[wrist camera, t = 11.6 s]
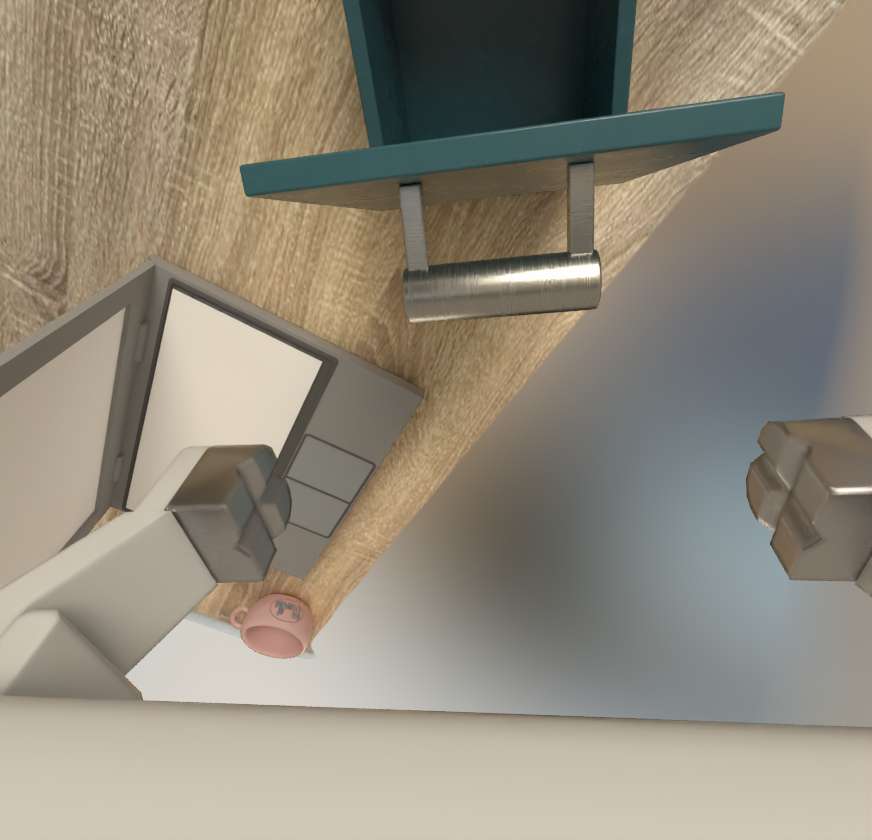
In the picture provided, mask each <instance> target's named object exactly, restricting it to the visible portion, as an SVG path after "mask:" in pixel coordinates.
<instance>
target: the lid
mask: <svg viewBox="0 0 872 840" xmlns="http://www.w3.org/2000/svg"><path fill="white" fill-rule="evenodd" d="M784 98H785V93H783V92H776V93H769V94H761V95H754V96H747V97H739V98H732V99H725V100H717V101H710V102H702V103H695V104H688V105H680V106H673V107H666V108H658V109H651V110H644V111H636V112H629V113H621V114H614V115H607V116H599V117H592V118H585V119H577V120H570V121H562V122H555V123H548V124H540V125H533V126H526V127H518V128H511V129H503V130H496V131H489V132H481V133H474V134H467V135H459V136H452V137H445V138H437V139H430V140H422V141H415V142H408V143H400V144H393V145H386V146H378V147H371V148H363V149H356V150H349V151H341V152H334V153H327V154H319V155H312V156H304V157H297V158H290V159H282V160H275V161H268V162H260V163H253V164H246V165H241V166H240V172H241V177H242V181H243V186H244V191H245V194H246V196H248V197H254V198H263V199H272V200H282V201H291V202H301V203H310V204H319V205H329V206H338V207H347V208H357V209H366V210H375V211H385V210H394V209H401V217H402V226H403V234H404V243H405V252H406V260H407V268H405V269H404V272H403V277H402V293H403V302H404V308H405V313H406V316H407V319H408V321H409V322H410V323H411V324H417V323H430V322H442V321H454V320H467V319H479V318H492V317H504V316H517V315H529V314H542V313H554V312H567V311H579V310H591V309H596V308H597V307H598V305H599V302H600V297H601V283H602V277H601V263H600V257H599V254H598V252H597V250H594V186H601V185H610V184H618V183H624V182H627V181H630V180H633V179H636V178H639V177H642V176H645V175H648V174H651V173H654V172H657V171H660V170H663V169H666V168H668V167H671V166H674V165H677V164H680V163H683V162H686V161H689V160H692V159H695V158H698V157H701V156H704V155H707V154H710V153H713V152H716V151H719V150H722V149H725V148H728V147H731V146H734V145H736V144H739V143H742V142H745V141H748V140H751V139H754V138H757V137H760V136H763V135H766V134H769V133H772V132H775V131H777V130H779V129H780V127H781V122H782V114H783V106H784ZM566 189H567V252H562V253H551V254H541V255H531V256H521V257H510V258H500V259H490V260H480V261H469V262H459V263H449V264H439V265H431V256H430V246H429V236H428V226H427V216H426V206H428V205H437V204H445V203H454V202H463V201H471V200H480V199H489V198H497V197H506V196H514V195H523V194H532V193H540V192H549V191H558V190H566Z"/></svg>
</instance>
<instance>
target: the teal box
mask: <svg viewBox="0 0 872 840" xmlns="http://www.w3.org/2000/svg"><path fill="white" fill-rule="evenodd" d="M636 2H637V0H343V5H344V11H345V16H346V21H347V27H348V32H349V38H350V43H351V48H352V54H353V59H354V65H355V70H356V75H357V81H358V86H359V92H360V97H361V102H362V108H363V113H364V119H365V124H366V129H367V135H368V140H369V146H370V148H371V147H378V146H386V145H393V144H400V143H408V142H415V141H422V140H430V139H437V138H445V137H452V136H459V135H467V134H474V133H481V132H489V131H496V130H503V129H511V128H518V127H526V126H533V125H540V124H548V123H555V122H562V121H570V120H577V119H585V118H592V117H599V116H607V115H614V114H621V113H627V110H628V98H629V86H630V74H631V62H632V50H633V38H634V26H635V14H636Z"/></svg>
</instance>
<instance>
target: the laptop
mask: <svg viewBox="0 0 872 840" xmlns="http://www.w3.org/2000/svg"><path fill="white" fill-rule="evenodd" d="M424 392H425V391H424V390H423V389H422V388H420V387H418V386H416V385H414V384H412V383H410V382H408V381H406V380H404V379H402V378H400V377H398V376H396V375H394V374H392V373H390V372H388V371H386V370H384V369H382V368H380V367H378V366H376V365H374V364H372V363H370V362H368V361H366V360H364V359H362V358H360V357H358V356H356V355H354V354H352V353H350V352H348V351H346V350H344V349H342V348H340V347H338V346H336V345H334V344H332V343H330V342H328V341H326V340H324V339H322V338H320V337H318V336H316V335H314V334H312V333H310V332H308V331H306V330H304V329H302V328H300V327H298V326H296V325H294V324H292V323H290V322H288V321H286V320H284V319H282V318H280V317H278V316H276V315H274V314H272V313H270V312H268V311H266V310H264V309H262V308H260V307H258V306H256V305H254V304H252V303H250V302H248V301H246V300H244V299H242V298H240V297H239V296H237V295H235V294H233V293H231V292H229V291H227V290H225V289H223V288H221V287H219V286H217V285H215V284H213V283H211V282H209V281H207V280H205V279H203V278H201V277H199V276H197V275H195V274H193V273H191V272H189V271H187V270H185V269H183V268H181V267H179V266H177V265H175V264H173V263H171V262H169V261H167V260H165V259H163V258H161V257H159V256H157V255H154V254H151V255H149V259H148V261H147V262H145V263H143V264H142V265H140V266H139V267H137V268H135V269H134V270H132V271H131V272H129V273H128V274H126V275H124V276H123V277H121V278H120V279H118V280H116V281H115V282H113V283H112V284H110V285H109V286H107V287H105V288H104V289H102V290H101V291H99V292H97V293H96V294H94V295H93V296H91V297H90V298H88V299H86V300H85V301H83V302H82V303H80V304H78V305H77V306H75V307H74V308H72V309H71V310H69V311H67V312H66V313H64V314H63V315H61V316H59V317H58V318H56V319H55V320H53V321H52V322H50V323H48V324H47V325H45V326H44V327H42V328H40V329H39V330H37V331H36V332H34V333H33V334H31V335H29V336H28V337H26V338H25V339H23V340H21V341H20V342H18V343H17V344H15V345H14V346H12V347H10V348H9V349H7V350H6V351H4V352H2V353H1V354H0V588H2V587H3V586H5V585H6V584H8V583H10V582H11V581H13V580H15V579H16V578H18V577H20V576H21V575H23V574H24V573H26V572H28V571H29V570H31V569H33V568H34V567H36V566H38V565H39V564H41V563H42V562H44V561H46V560H47V559H49V558H51V557H52V556H54V555H55V554H57V553H59V552H60V551H62V550H64V549H65V548H67V547H69V546H70V545H72V544H73V543H75V542H77V541H78V540H80V539H82V538H83V537H85V536H87V534H88V533H89V532H90V531H91V530H92V528H93V527H94V526H95V525H96V523H97V522H98V521H99V520H100V519H101V517H102V516H103V515H104V514H105V513H106V511H107V510H108V509H109V508H110V506H111V507H114V508H116V509H119V510H122V511H124V512H133V511H134V510H135V509H136V507H137V506H138V505H139V503H140V502H141V501H142V500H143V498H144V497H145V496H146V494H147V493H148V492H149V491H150V489H151V488H152V487H153V485H154V484H155V483H156V482H157V480H158V479H159V478H160V476H161V475H162V474H163V473H164V471H165V470H166V469H167V467H168V466H169V465H170V463H171V462H172V461H173V460H174V458H175V457H176V456H177V454H178V453H179V452H180V451H181V450H182V449H185V448H187V447H189V446H214V445H253V444H265V445H267V446H270V447H272V449H273V451H274V453H275V455H276V457H277V459H278V464H277V466H276V468H275V470H274V471H275V472H277V473H278V474H279V475H281V476H282V477H283V478H285V479H286V480H287V483H288V485H289V488H290V492H291V498H292V507H291V517H290V519H289V522H288V525H287V527H286V530H285V531H283V532H282V533H281V534H280V535H279V536H277V537H276V538H275V539H274V540H273V541H274V544H275V546H276V549H277V551H276V553H275V556H274V558H273V560H272V562H271V565H270V567H271V568H274V569H276V570H279V571H281V572H284V573H287V574H289V575H292V576H295V577H297V578H300V579H302V580H304V579H305V577H306V576H307V574H308V573H309V571H310V570H311V568H312V566H313V565H314V563H315V562H316V560H317V559H318V557H319V556H320V554H321V553H322V551H323V550H324V548H325V547H326V545H327V544H328V542H329V541H330V539H331V538H332V536H333V535H334V533H335V532H336V530H337V529H338V527H339V525H340V524H341V522H342V521H343V519H344V518H345V516H346V515H347V513H348V512H349V510H350V509H351V507H352V506H353V504H354V503H355V501H356V500H357V498H358V497H359V495H360V494H361V492H362V491H363V489H364V487H365V486H366V484H367V483H368V481H369V480H370V478H371V477H372V475H373V474H374V472H375V471H376V469H377V468H378V466H379V465H380V463H381V462H382V460H383V459H384V457H385V456H386V454H387V453H388V451H389V450H390V448H391V446H392V445H393V443H394V442H395V440H396V439H397V437H398V436H399V434H400V433H401V431H402V430H403V428H404V427H405V425H406V424H407V422H408V421H409V419H410V418H411V416H412V415H413V413H414V412H415V410H416V408H417V407H418V405H419V404H420V402H421V401H422V399H423V398H424Z"/></svg>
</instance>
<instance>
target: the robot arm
mask: <svg viewBox="0 0 872 840" xmlns="http://www.w3.org/2000/svg"><path fill="white" fill-rule="evenodd" d="M758 444H759V445H760V447H761V448H762V450H763V451H764V453H763V454H762V455H760V456H759V457H758V458H757V459H755V460H754V461H753V462H752V463H751V464H750V467H749V470H748V474H747V478H746V487H747V488H746V489H747V498H748V501H749V504H750V508H751V510H752V512H753V513H754V515H755V517H756V519H757V521H758V522H760V523H761V524H763V525H764V526H766V527H767V528H769V529H771V530H772V531H774V535H773V537H772V540H771V542H770V545H771V546H772V548H773V550H774V552H775V554H776V555H777V557H778V559H779V561H780V562H781V564H782V566H783V568H784V570H785V571H786V573H787V575H788V576H789V578H790V580H814V581H816V580H817V581H856V583H855V585H856V586H858V587H859V588H860V589H862V590H863V591H864V592H866V593H867V594H868V595H870V596H871V597H872V415H857V416H844V417H841V418H823V419H804V420H784V421H768V422H767V423H766V425H765V426H764V427H763V428H762V430H761V433H760V436H759V439H758ZM277 464H278V459H277V457H276V455H275V453H274V451H273V449H272V447H270V446H267V445H265V444H253V445H214V446H189V447H187V448H185V449H182V450H181V451H180V452H179V453H178V454H177V456H176V457H175V458H174V460H173V461H172V462H171V463H170V465H169V466H168V467H167V469H166V470H165V471H164V473H163V474H162V475H161V476H160V478H159V479H158V480H157V482H156V483H155V484H154V485H153V487H152V488H151V489H150V491H149V492H148V493H147V494H146V496H145V497H144V498H143V500H142V501H141V502H140V503H139V505H138V506H137V507H136V509H135V510H134V511H133V512H124V513H122V514H121V515H119V516H118V517H116V518H114V519H113V520H111V521H109V522H108V523H106V524H104V525H103V526H101V527H100V528H98V529H96V530H95V531H93V532H91V533H90V534H88V535H87V536H85V537H83V538H82V539H80V540H78V541H77V542H75V543H73V544H72V545H70V546H69V547H67V548H65V549H64V550H62V551H60V552H59V553H57V554H55V555H54V556H52V557H51V558H49V559H47V560H46V561H44V562H42V563H41V564H39V565H38V566H36V567H34V568H33V569H31V570H29V571H28V572H26V573H24V574H23V575H21V576H20V577H18V578H16V579H15V580H13V581H11V582H10V583H8V584H6V585H5V586H3V587H2V588H0V840H872V727H847V726H844V727H843V726H820V725H819V726H818V725H793V724H767V723H740V722H714V721H687V720H659V719H635V718H607V717H581V716H555V715H526V714H499V713H471V712H444V711H417V710H415V711H414V710H390V709H360V708H333V707H306V706H280V705H253V704H226V703H198V702H170V701H144V700H143V698H142V694H141V692H140V691H139V690H138V689H137V688H136V687H135V686H134V685H133V684H132V683H131V682H130V681H129V680H128V679H127V678H126V677H125V675H126V674H127V673H128V672H129V671H130V670H131V669H132V668H133V667H134V666H135V665H136V664H137V663H138V662H140V660H141V659H143V658H144V657H145V656H146V654H148V653H149V652H150V651H151V650H152V649H153V648H154V647H155V646H156V645H157V644H158V643H159V642H160V641H161V640H162V639H163V638H164V637H165V636H166V635H167V634H168V633H169V632H170V631H171V630H172V629H173V628H174V627H175V626H176V625H178V624H179V623H180V622H181V621H182V620H183V619H184V618H185V617H186V616H187V615H188V614H189V613H190V612H191V611H192V610H193V609H194V608H195V607H196V606H197V605H198V604H199V603H200V602H201V601H202V600H203V599H204V598H205V597H206V596H207V595H208V594H210V593H211V592H212V591H213V590H214V589H215V588H216V587H217V586H218V584H217V583H226V582H258V581H264V579H265V576H266V574H267V572H268V569H269V567H270V565H271V562H272V560H273V558H274V556H275V553H276V551H277V549H276V546H275V544H274V541H273V540H274V539H275V538H276V537H277V536H279V535H280V534H281V533H282V532H283V531H285V530H286V527H287V525H288V522H289V519H290V517H291V507H292V498H291V492H290V488H289V485H288V483H287V480H286V479H285V478H283V477H282V476H281V475H279V474H278V473H277V472H275V471H274V470H275V468H276V466H277Z"/></svg>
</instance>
